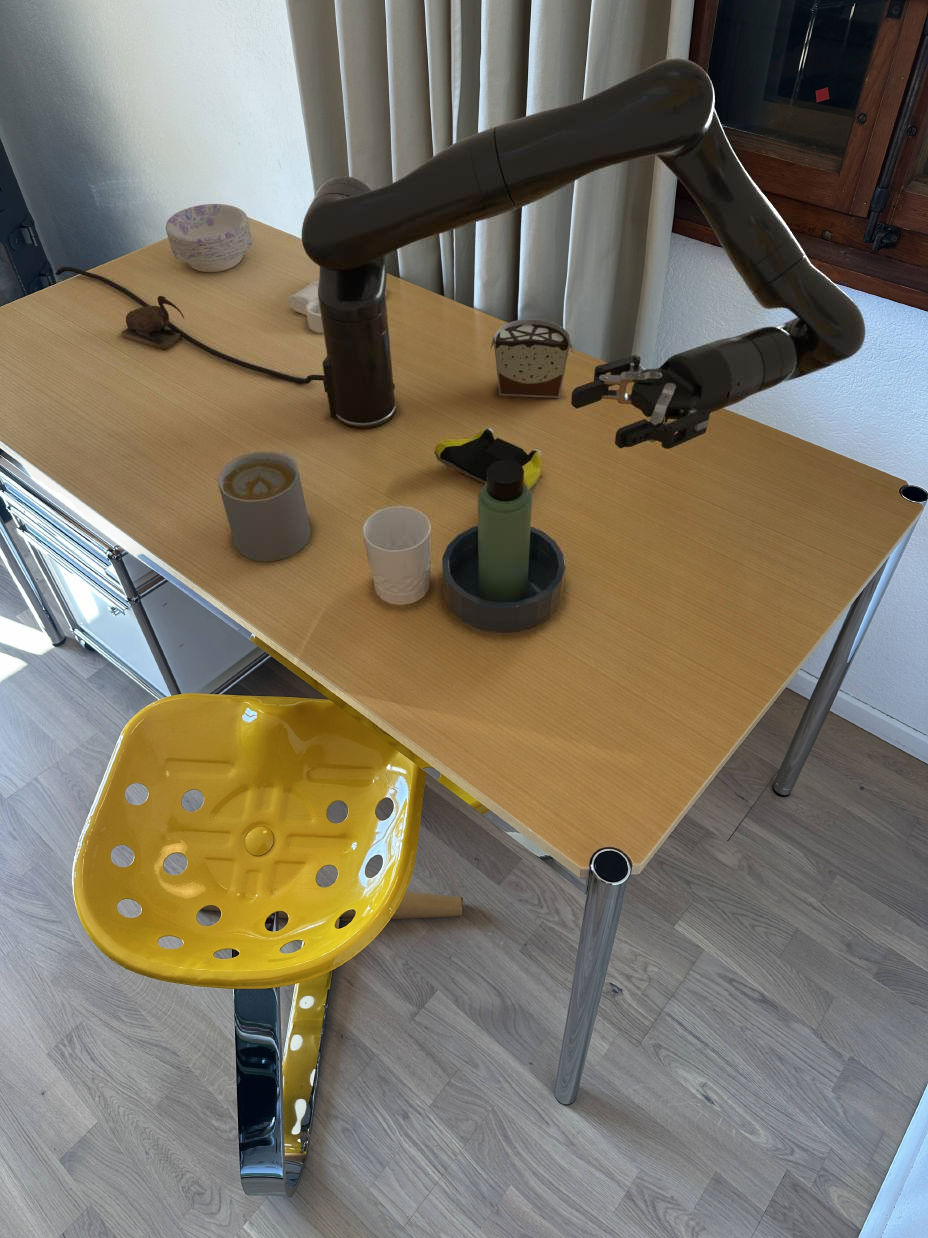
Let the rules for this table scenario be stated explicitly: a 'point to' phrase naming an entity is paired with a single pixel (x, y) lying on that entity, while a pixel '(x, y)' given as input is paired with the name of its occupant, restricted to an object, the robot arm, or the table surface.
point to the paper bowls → (209, 236)
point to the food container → (531, 358)
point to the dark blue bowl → (503, 616)
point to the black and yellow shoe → (487, 456)
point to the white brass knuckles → (308, 305)
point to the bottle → (504, 533)
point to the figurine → (151, 325)
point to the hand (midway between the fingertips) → (594, 419)
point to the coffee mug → (265, 505)
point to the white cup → (399, 553)
